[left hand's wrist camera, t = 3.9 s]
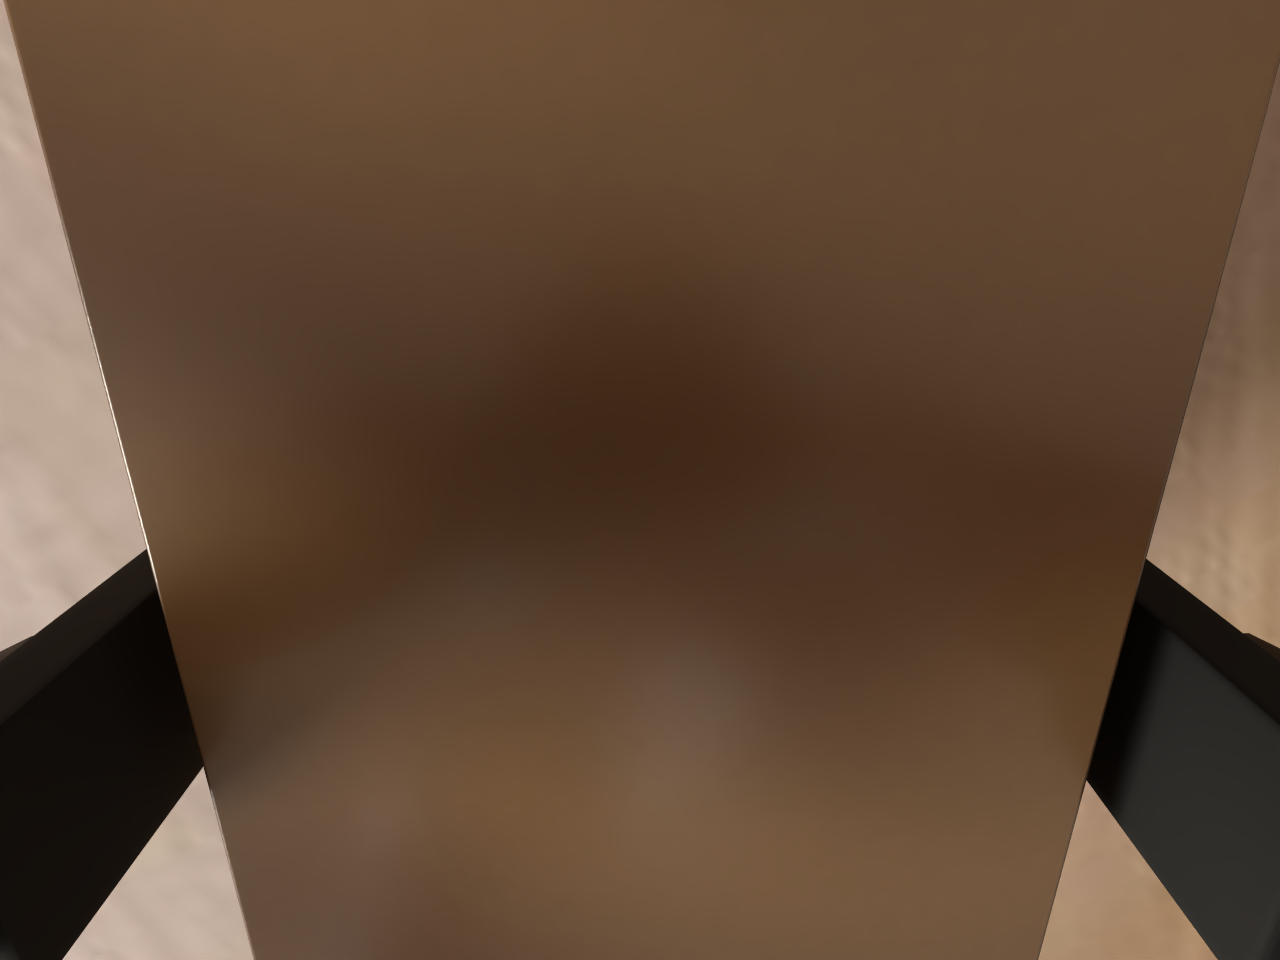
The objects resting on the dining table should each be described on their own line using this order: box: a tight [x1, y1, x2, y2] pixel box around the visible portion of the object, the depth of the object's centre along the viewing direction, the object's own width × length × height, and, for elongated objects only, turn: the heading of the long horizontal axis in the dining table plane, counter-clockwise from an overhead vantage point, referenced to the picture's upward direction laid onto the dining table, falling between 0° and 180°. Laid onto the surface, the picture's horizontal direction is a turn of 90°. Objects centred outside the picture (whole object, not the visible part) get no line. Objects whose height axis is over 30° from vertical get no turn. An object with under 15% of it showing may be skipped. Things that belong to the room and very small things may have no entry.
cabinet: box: [4, 0, 1280, 960], centre depth 13 cm, size 18×10×11 cm, turn 0°
